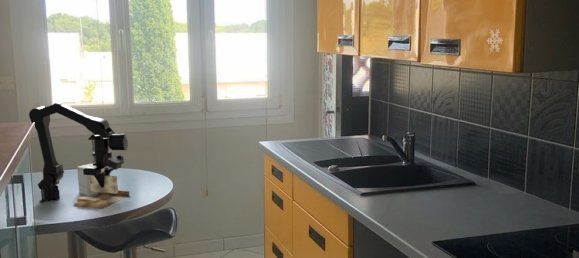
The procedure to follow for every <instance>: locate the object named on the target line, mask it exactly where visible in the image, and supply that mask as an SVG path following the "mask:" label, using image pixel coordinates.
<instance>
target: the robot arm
mask: <svg viewBox="0 0 579 258" xmlns="http://www.w3.org/2000/svg"><path fill="white" fill-rule="evenodd" d="M54 114H59V115H61V116H63V117H66V118H67V119H70V120H71V121H74V122H76V123H78V124H80V125H82V126H84V127H85V129H86V130H87V131H89V132H90V133H91V134H92V135H90V136H89V137H88V141H92V140H94V153H92V154H91V155H92V157H93V156H95V163H93V162H92V164H93V166H88V167H86V168H84V169H83V175H92V176H94V177H95V178H96V180H97V181H98V183H99V185H100V186H101V187H102V188H103V187H104V175H110V176H111V173H112V172H113V171H115V170H118V169H121V168H122V165H123V164H124V163H125V161H124V156H123V155H122V154H119V155H117V156H116V155H115V156H114V155H113V153H112V151H127V149H128V146H129V141H128V139H127V136H126V133H115V132H114V130H113V129H112V128H111V126H110V123H109V122H108V120H106V118H105V119H104V118H102V117H96V116H91V115H88V114H87V113H85V112H82V111H80V110H77V109H76V108H73V107H71V106H70V105H67V104H65V103H64V102H61V101H58V102H55V103H53V104H50V105H47V106H43V105H41V106H38V107H37V106H36V107H35V108H32V109H30V111H29V112H28V117H29V119H30V122H31V124H32V123H33V122H35V127H34V128H35V130H36V132H37V133H36V134H37V138H38V142H39V146H40V150H41V155H42V160H43V168H42V179H41V180H40V182H38V184H37V186H38V189H39V190H40V193H41V195H40V197H41V199H40V200H38V202H39V203H45V202H54V201H58V200H60V197H61V196H60V189H59V186H58V185H59V184H60V181H61V180H62V179H63V177H64V174H65V171H64V167H63V163H58V161H57V159H56V155H55V154H56V153H55V149H54V145H53V141H52V136H51V131H50V122H51V115H54ZM110 150H111V151H110Z"/></svg>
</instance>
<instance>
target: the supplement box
mask: <svg viewBox="0 0 579 258" xmlns="http://www.w3.org/2000/svg"><path fill="white" fill-rule="evenodd" d="M88 166H93V163H88V164H82V165H78V166H77V167H76V168H77V181H78V193H79V194H81V195H82V196H86V197H90V196H95V195H97V194H99V192H93V191H91V188H90V175H83V169H84V168H86V167H88Z"/></svg>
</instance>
